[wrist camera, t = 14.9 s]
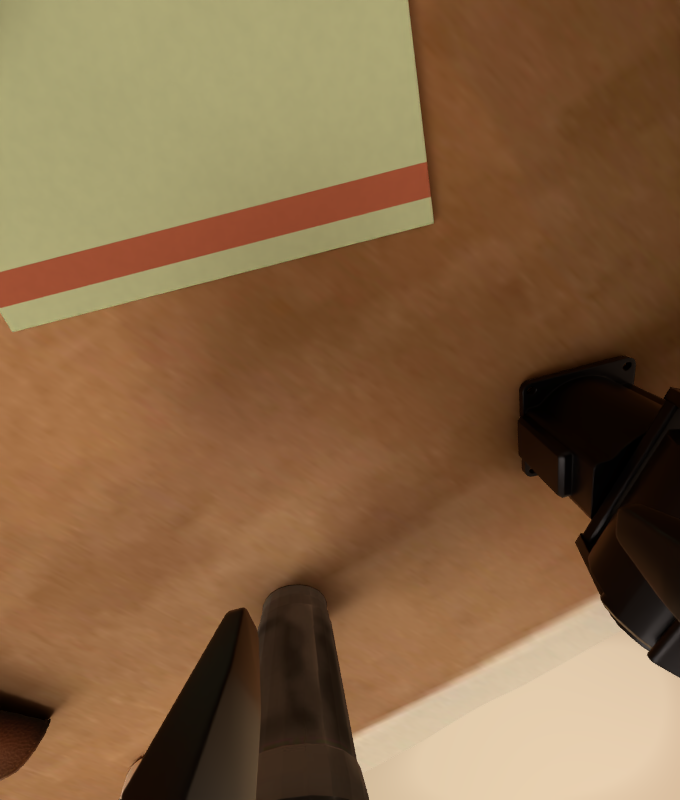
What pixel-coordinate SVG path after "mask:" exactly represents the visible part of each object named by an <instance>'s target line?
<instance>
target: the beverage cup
mask: <svg viewBox="0 0 680 800" xmlns="http://www.w3.org/2000/svg"><path fill="white" fill-rule="evenodd" d="M257 632H258V638H259V664H260V694H261V723H260V740H259V756H258V772H257V788H256V800H369V797H368V793H367V789H366V786H365V782H364V779H363V775H362V771H361V768H360V766H359V764H358V762H357V759H356V754H355V748H354V743H353V737H352V732H351V727H350V721H349V716H348V710H347V705H346V700H345V694H344V689H343V683H342V678H341V673H340V667H339V662H338V656H337V651H336V646H335V640H334V635H333V629H332V624H331V621H330V618H329V614H328V610H327V603H326V600H325V598H324V596H323V595H322V594H321V593H320V592H319V591H318V590H316V589H314V588H312V587H309V586H303V585H291V586H286V587H283V588H280V589H278V590H276V591H275V592H273V593H271V594H270V595H269V597H268V598H267V599H266V600H265V603H264V605H263V612H262V616H261V620H260V624H259V627H258V631H257Z"/></svg>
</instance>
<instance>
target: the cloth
mask: <svg viewBox="0 0 680 800" xmlns="http://www.w3.org/2000/svg"><path fill="white" fill-rule="evenodd" d="M433 223H434V219H433V211H432V202H431V192H430V184H429V175H428V166H427V159H426V150H425V142H424V133H423V125H422V116H421V107H420V99H419V90H418V82H417V73H416V65H415V56H414V47H413V39H412V30H411V22H410V13H409V4H408V0H0V313H1V314H2V316H3V318H4V319H5V321H6V322H7V324H8V326H9V327H10V329H11V331H12V332H15V331H19V330H23V329H27V328H31V327H35V326H39V325H43V324H46V323H50V322H54V321H58V320H62V319H66V318H70V317H73V316H77V315H81V314H85V313H89V312H93V311H97V310H101V309H104V308H108V307H112V306H116V305H120V304H124V303H128V302H131V301H135V300H139V299H143V298H147V297H151V296H155V295H159V294H162V293H166V292H170V291H174V290H178V289H182V288H186V287H190V286H193V285H197V284H201V283H205V282H209V281H213V280H217V279H220V278H224V277H228V276H232V275H236V274H240V273H244V272H248V271H251V270H255V269H259V268H263V267H267V266H271V265H275V264H278V263H282V262H286V261H290V260H294V259H298V258H302V257H306V256H309V255H313V254H317V253H321V252H325V251H329V250H333V249H336V248H340V247H344V246H348V245H352V244H356V243H360V242H364V241H367V240H371V239H375V238H379V237H383V236H387V235H391V234H394V233H398V232H402V231H406V230H410V229H414V228H418V227H422V226H425V225H429V224H433Z"/></svg>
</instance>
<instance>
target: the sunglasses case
mask: <svg viewBox="0 0 680 800" xmlns="http://www.w3.org/2000/svg"><path fill="white" fill-rule="evenodd" d="M50 720H51V719H49V720H47V719H45V720H41V719H38V718H35V717H29V716H24V715H22V714H18V713H12V712H6V711H2V710H0V781H1V780H3V779H5V778H7V777H9V776H10V775H12V774H14V773H16V772H17V771H18V770H19V769H20V768H21V767H22V766H23V765H24V764H25V763H26V762H27V760H28V759H29V758H30V756H31V755H32V754H33V752H34V751H35V750H36V748H37V747H38V745H39V743H40V741H41V740H42V738H43V737H44V735H45V733H46V731H47V728H48V727H49V723H50Z"/></svg>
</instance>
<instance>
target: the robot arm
mask: <svg viewBox="0 0 680 800" xmlns="http://www.w3.org/2000/svg"><path fill="white" fill-rule="evenodd" d="M625 363H626V365H625V366H624V367H623V365H624V364H625ZM635 367H636V362H635V360H634V359H633V358H630V357H628V356H620V357H616V358H612V359H608V360H604V361H600V362H597V363H593V364H589V365H585V366H581V367H577V368H573V369H569V370H566V371H562V372H558V373H554V374H550V375H546V376H542V377H539V378H535V379H531V380H527V381H525V382H523V383H522V384H521V386H520V388H519V401H520V418H519V420H518V448H519V456H520V457H521V458H522V470H523V472H524V473H525V474H526V475H527V476H530V477H532V476H537V475H538V476H539V477H540V478H541V479H542V480H543V481H544V482H545V483H546V484H547V485H548V486H549V487H550V488H551V489H552V490H553V491H554V492H555V493H556V494H557V495H558V496H560V497H562V498H563V497H567V496H569V497H570V498H571V499H572V500H573V501H574V502H575V503H576V504H577V505H578V507H579V508H580V509H581V510H582V511H583V512H584V513H585V514H586V515H587V516H588V517H589V518H590V519H591V522H590V523H589V525H588V527H587V528H586V530H585V531H584V533H581V534H580V535H579V537H578V538H577V540H576V542H575V543H576V545H577V547H578V550H579V552H580V554H581V556H582V558H583V560H584V562H585V564H586V566H587V568H588V570H589V573H590V575H591V577H592V579H593V581H594V583H595V585H596V587H597V589H598V591H599V594H600V598H601V601H602V603H603V605H604V607H605V608H606V609H607V610H608V611H609V613H610V615H611V616H612V617H613V619H614V620H615V621H616V623H617V624H618V626H619V627H620V628H622V629H623V630H624V631H625V632H626V633H627V634H628V635H629V636H630V637H631V638H632V639H634V640H635V641H636V642H638V644H640V645H641V646H642V647H644V648H645V649H647V650H648V651H649V652H648V654H647V656H648V657H649V659H650V660H651V661H652V662H653V663H655V664H657V665H658V666H660V667H662V668H664V669H665V670H667V671H669V672H671V673H672V674H674V675H676V676H678V677H680V389H678V388H673V387H670V389H669V390H668V392H667V394H666V395H665V397H664V399H665V400H664V399H662V398H660V397H658V396H656V395H653V394H651V393H649V392H647V391H645V390H643V389H641V388H639V387H637V386H635V385H634V376H635ZM530 387H532V389H531V391H529V392H527V390H528V389H529V388H530ZM530 468H532V469H530ZM260 723H261V694H260V664H259V638H258V632H257V629H256V626H255V624H254V622H253V621H252V619H251V617H250V615H249V613H248V611H247V609H246V608H239V609H235V610H231V611H229V612H228V613H227V614H226V615H225V616H224V618H223V620H222V622H221V623H220V625H219V627H218V629H217V630H216V632H215V634H214V635H213V637H212V639H211V641H210V642H209V644H208V646H207V648H206V649H205V651H204V653H203V654H202V656H201V658H200V660H199V661H198V663H197V665H196V667H195V668H194V670H193V672H192V674H191V675H190V677H189V679H188V680H187V682H186V684H185V686H184V687H183V689H182V691H181V693H180V694H179V696H178V698H177V699H176V701H175V703H174V705H173V706H172V708H171V710H170V712H169V713H168V715H167V717H166V718H165V720H164V722H163V724H162V725H161V727H160V729H159V731H158V732H157V734H156V736H155V738H154V739H153V741H152V743H151V744H150V746H149V748H148V750H147V751H146V753H145V755H144V757H143V758H142V760H141V762H140V763H139V765H138V767H137V769H136V770H135V772H134V774H133V776H132V777H131V779H130V781H129V782H128V784H127V786H126V788H125V789H124V791H123V793H122V799H119V800H256V788H257V772H258V756H259V740H260Z"/></svg>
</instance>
